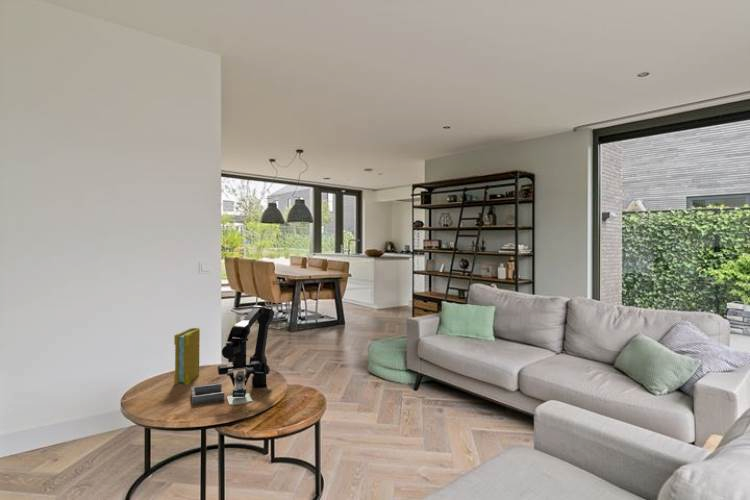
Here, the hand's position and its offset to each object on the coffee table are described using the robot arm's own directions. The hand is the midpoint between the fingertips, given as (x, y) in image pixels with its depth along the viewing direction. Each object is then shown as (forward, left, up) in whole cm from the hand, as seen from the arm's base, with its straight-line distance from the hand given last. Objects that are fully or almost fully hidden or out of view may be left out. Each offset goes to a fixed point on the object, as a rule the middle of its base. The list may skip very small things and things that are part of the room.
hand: (239, 385), depth 188 cm
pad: (0, 0, -6) cm, 6 cm away
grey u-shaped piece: (+13, -9, -6) cm, 17 cm away
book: (+20, -40, -7) cm, 45 cm away
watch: (0, 0, -5) cm, 5 cm away
